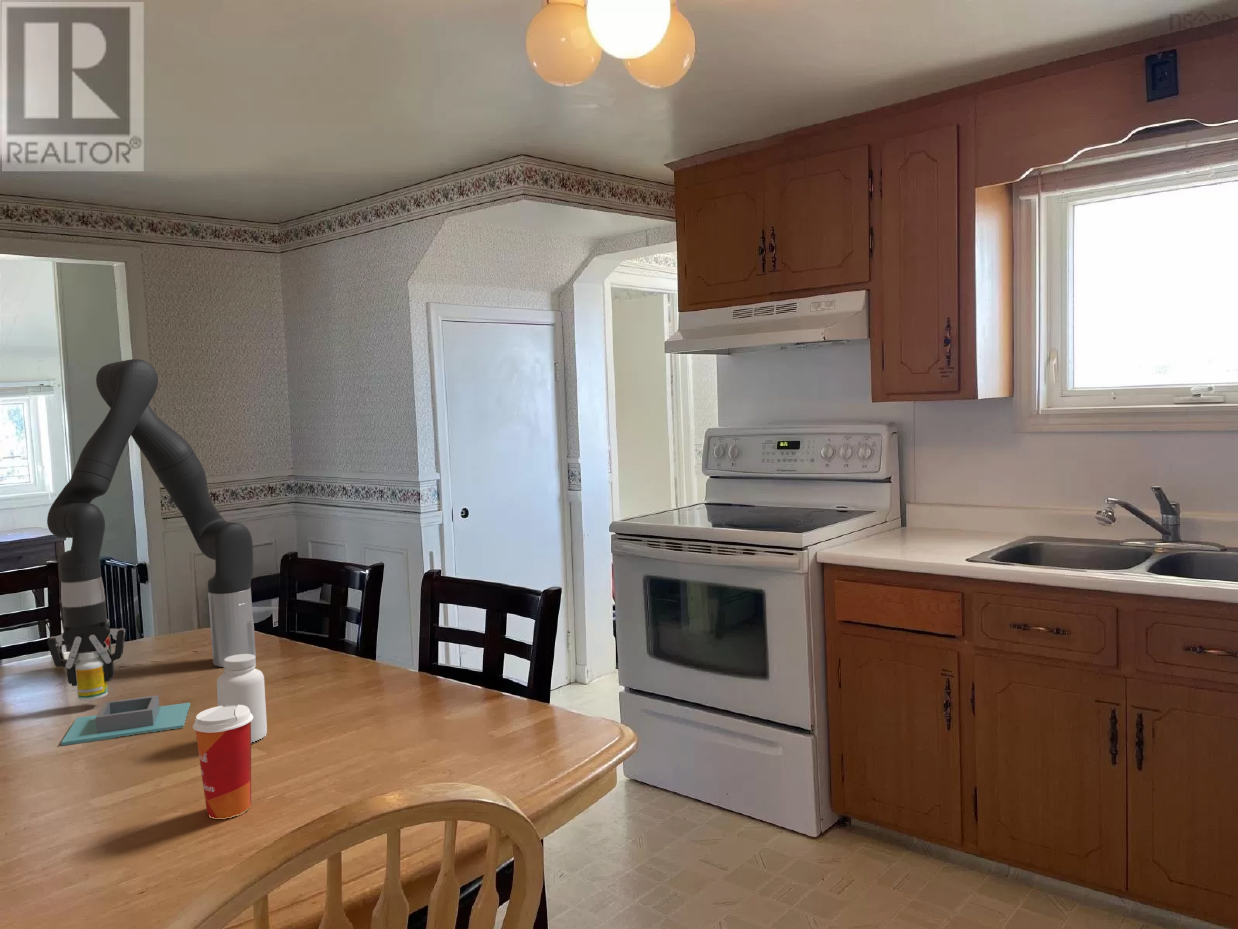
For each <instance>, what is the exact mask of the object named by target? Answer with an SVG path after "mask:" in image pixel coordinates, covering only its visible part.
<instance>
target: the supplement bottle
mask: <svg viewBox="0 0 1238 929" xmlns="http://www.w3.org/2000/svg"><path fill="white" fill-rule="evenodd" d="M100 656H101V655H100V654H99V653H98V651H97V650H93V651H90V650H87V651H84V652H78V659H79V660H80V661H79V662H78V663H77V664H76V665H75V673H76V683H77V686H76V693H77V694H76V695H77V699H78V700H79V701H83V702H84V701H86V702H90V701H95V700H98V699H99V700H100V699H102V698H104V697H106V696H107V695H108V694H109V690H108V681H107V682H106V679H105V669H104V664H105V661H104V660H103V659H102V658H99V657H100Z"/></svg>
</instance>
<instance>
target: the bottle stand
mask: <svg viewBox="0 0 1238 929" xmlns="http://www.w3.org/2000/svg"><path fill="white" fill-rule="evenodd" d="M159 698H160V696H159V694H156V695H150V696H149V695H148V696H142V697H133V698H128V699H127V698H126V699H119V700H118V699H117V700H111V701H104V703H103V704H102V706H101V708H100V709H99V711H98V713H97V714H96V715H95V714H94V715H89V716H88V715H86V716H78V717H77V718H76V719H75V720H74V722H73V724H72V725H71V727H70V728H69V730H68V731H67V733H66V734H65V736H64V737H63V739H62V740H61V747H62V746H70V745H76V744H83V743H89V742H97V741H103V739H105V740H110V739H111V740H112V739H117V738H116V737H119V738H121V737H120V736H126V737H130V736H129V735H132V736H135V735H134V734H139V735H141V734H140V733H146V732H153V733H158V732H157V731H160V732H163V731H162V730H167V729H174V730H178V729H177V728H181V729H183V728H182V727H183V726H184V727H185V724H186V721H185V720H187V718H186V716H187V717H188V714H189V711H188V710H190V708H191V702H184V703H176V704H169V705H168V704H167V705H160V699H159ZM189 707H190V708H189ZM187 713H188V714H187ZM184 723H185V724H184ZM167 731H168V730H167ZM146 734H147V733H146Z"/></svg>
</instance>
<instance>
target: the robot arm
mask: <svg viewBox="0 0 1238 929" xmlns="http://www.w3.org/2000/svg"><path fill="white" fill-rule="evenodd" d="M95 383H96V387H97V391H98V392H99V394H100V396H101V398H102V399H103V401H104V402H105V404H106V405H107V406H108V407H109V408H110V409H109V410H108V412H107V415H106V416H105V418H104V419H103V421H102V422H101V423H100V425H99V426H98V428H97V429H96V430H95V431H94V433H93V434H92V435H91V437H90V438H89V439H88V441H87V442H86V444H85V446H84V447H83V448H82V450H81V452H80V455H79V456H78V459H77V461H76V464H75V467H74V469H73V472H72V474H71V476H70V477H71V478H70V479H69V481H68V482H67V483H66V484H65V486H64V487H63V489H62V490H61V491H60V493H59V494H58V496H57V497H56V499H55V500H54V501H53V502H52V504H51V506H50V508H49V510H48V512H47V513H48V514H47V517H46V518H47V519H46V524H47V527H48V530H49V532H50V533H51V534H52V535H54V536H55V537H57V538H64V539H65V538H66V539H72V541H71V547H70V550H66V551H65V552H63V553H61V554H60V556H59V572H60V581H61V583H60V584H61V586H60V589H61V590H60V594H61V595H60V596H61V599H60V602H61V606H62V607H61V608H62V617H63V627H64V630H63V632H62V634H59V635H52V636H50V637H49V638H48V640H47V643H46V644H47V646H48V648H49V652H50V655H51V657H52V660H53V663H54V666H55V667H57V668H61V667H62V668H65V669H66V675H67V676H66V677H67V683H68V684H69V685H70V684H71V687H77V683H76V673H75V661H76V658H77V655H78V652H84V651H87V650H90V651H93V650H97V651H98V653H99V654H100V655H101V656H102V658H103V660H104V661H105V664H104V669H105V679H106V682H107V683H108V682H111V680H112V679H113V678H114V676H115V666H114V664H115V663H114V662H115V661H117V660H120V659H121V658H122V655H123V653H124V645H125V638H126V628H125V627H120V628H111V626H110V624H109V625H108V623H107V619H108V616H107V614H108V613H107V606H106V605H107V604H106V595H105V587H104V582H103V578H102V568H101V562H100V560H101V559H100V556H101V552H102V549H103V548H102V547H103V543H104V542H103V540H104V537H105V536H104V535H105V530H106V529H105V528H106V521H105V516H104V514H103V512H102V510H101V509H100V507H98V506H97V505H95V504H94V503H92V501H93V500H95V499H96V498H99V497H102V496H104V495H105V494H106V493H107V492H108V490H109V488H110V486H111V483H112V481H113V479H114V475H115V473H116V470H117V468H118V465H119V462H120V459H121V457H122V455H123V452H124V450H125V448H126V445H127V444H128V442H129V441H130V440H129V439H130V437H131V438H132V439H133V440H134V442H135V444H136V445H137V447H138V448H139V450H140V452H141V453H142V455H144V457H145V459H146V460H147V462H148V464H149V466H150V467H151V469H152V470H153V472H154V474H155V475H156V477H157V478H158V480H159V481H160V483H161V485H162V486H163V487H164V489H165V490H166V492H167V493H168V495H169V496H170V498H171V500H172V501H173V503H174V504H175V506H176V508H177V509H178V510H179V512H180V514H182V516H183V519H185V522H186V524H187V526H188V528H189V530H190V532H191V534H192V536H193V538H194V541H195V542H196V544H197V547H198V548H199V550H200V552H201V553H202V554H203V555H204V556H205V557H207V558H209V559H211V560H214V561H215V571H214V572H215V573H214V575H213V576H212V577H211V578H209V579H208V581H207V592H208V593H207V595H208V596H207V597H208V607H209V608H208V609H209V610H208V611H209V622H210V623H209V624H210V638H211V650H212V651H211V652H212V664H213V665H214V666H216V667H221V668H224V659H225V658H227V657H229V656H233V655H238V654H252V655H254V656H255V657H256V656H257V654H256V639H255V625H254V624H255V623H254V617H253V616H254V615H253V603H252V589H251V587H252V586H251V581H252V578H253V575H254V541H253V538H252V534H251V532H250V530H249V529H248V528H249V527H247V526H246V525H245V524H242V523H240V522H233V521H227V520H225V519H224V516H222V515H221V513H220V512H219V510H218V509H217V508H216V506H215V504H214V503H213V501H212V499H211V497H210V494H209V493H210V492H209V487H208V482H207V481H208V480H207V476H206V472H205V469H204V467H203V464H202V462H201V461H200V459H199V457H198V455H197V454H196V453H195V451H194V449H193V448H192V446H191V445H190V444H189V442H188V441H187V440H186V439H185V438H184V437H183V436H181V435H180V433H178V432H177V431H176V430H174V429H173V428H172V427H170V426H169V424H167V423H166V422H164V420H162V419H161V418H160V417H159V416H158V415H157V414H156V412H154V410H153V409H152V407H151V406H150V403H151V401H152V400H153V398H154V396H155V394H156V392H157V389H158V387H159V376H158V373H157V371H156V369H155V367H154V366H153V365H152V364H151V363H150V362H148V361H146V360H143V359H139V358H133V359H126V360H125V359H124V360H119V361H116V362H111V363H108V364H105V365H103V366H102V367H100V368H99V370H98V371H97V373H96V377H95ZM109 634H110V636H112V639H113V640H115V647H114V652H113V653H112V651H111V652H110V650H109V648H108V646H107V644H106V643H105V640H106V638H107V637H108V635H109ZM63 641H64V642H65V643H67V645H69V647H71V648H70V652H69V654H68V657H67V659H66V658H65V657H64V655H63V652H62V649H61V646H62V644H63ZM111 653H112V654H111ZM256 658H257V657H256Z"/></svg>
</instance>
